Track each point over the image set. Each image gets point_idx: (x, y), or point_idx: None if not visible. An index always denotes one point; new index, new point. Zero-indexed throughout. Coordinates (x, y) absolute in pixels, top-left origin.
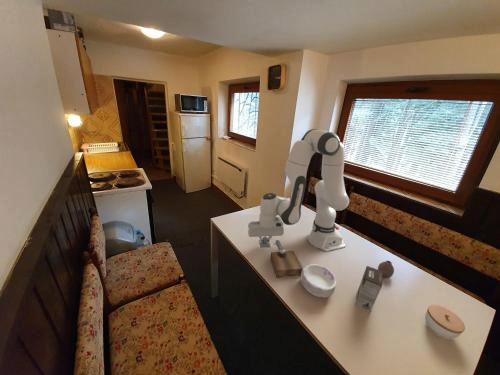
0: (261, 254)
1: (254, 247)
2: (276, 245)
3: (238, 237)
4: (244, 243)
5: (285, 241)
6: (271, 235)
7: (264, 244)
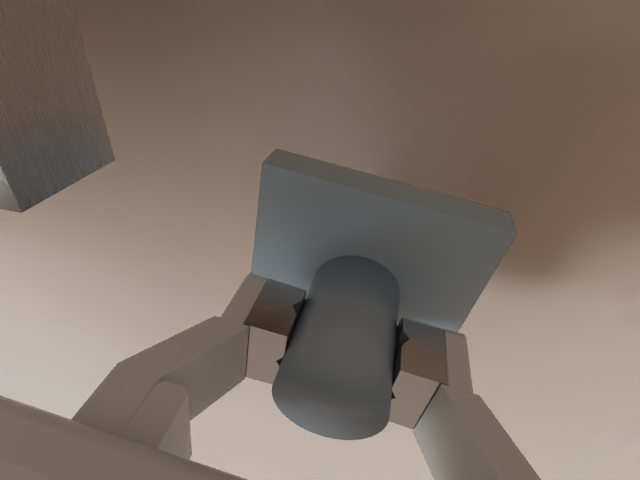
0: (485, 106)
1: (497, 285)
2: (83, 63)
3: (578, 471)
4: (583, 387)
5: (47, 233)
6: (52, 466)
7: (380, 253)
